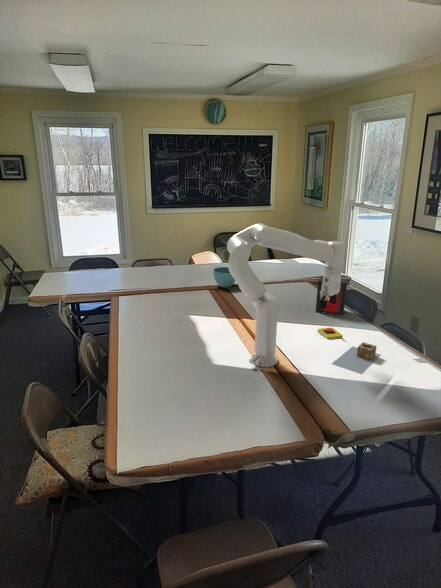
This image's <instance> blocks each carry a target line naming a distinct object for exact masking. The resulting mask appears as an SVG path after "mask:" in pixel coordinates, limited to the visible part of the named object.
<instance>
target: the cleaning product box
mask: <svg viewBox="0 0 441 588" xmlns="http://www.w3.org/2000/svg"><path fill="white" fill-rule="evenodd" d="M323 277H324V276H319V278H318V279H317V292H316V293H317V294H316V302H315V312H316V311H317V312H316V313H320V312H325V313H324V314H328V313H333V314H332V315H336V314H340V315H339V316H344V313H345V304H346V297H347V290H348V288H347V287H348V279H346V278H345V279H344V278H341V283H340V291H339V293H338V295H337V300H336V304H332V303H329V299H330V296H328V298H327V307H326V309H323V308H320V307H319V305H320V291H321V288H322V282H323ZM324 296H325V297H326V295H324Z"/></svg>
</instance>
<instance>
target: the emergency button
mask: <svg viewBox="0 0 441 588" xmlns="http://www.w3.org/2000/svg"><path fill="white" fill-rule="evenodd" d="M317 332H318V333H319V334H320V335H321V336H323V337H324V339H326V340H336V339H343V337H344V336H343V334H341V333H340V331H338V330H336V329H335V328H334V327H322V328H318V329H317ZM343 340H344V339H343Z"/></svg>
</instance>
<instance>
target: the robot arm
mask: <svg viewBox="0 0 441 588" xmlns="http://www.w3.org/2000/svg"><path fill="white" fill-rule="evenodd" d="M256 245H259V246H261V247H265V248H267V249H273V250H277V251H282V252H285V253H289V254H293V255H295V256H296V255H297V256H299V257H303V258H307V259H311V260H314V261H318V262H319V261H320V262H324V267H323V272H324V274H323V276H322V277H323V282H322V288H321V291H320V305H319V307H320V308H323V309H326V307H327V298H328V296H330V299H329V303H332V304H336V300H337V295H338V293H339V291H340V283H341V279H342V270H343V266H344V265H343V263H344V257H345V253H346V243H345V242H343V241H339V240H338V241H337V240H330V241H329V240H322V239H314V240H312V239H309V238H306V237H304V236H302V235H299V234H298V233H296V232H295V233H294V232H293V231H288V230H285V229H280V228H275V227H272V226H268V225H266V224H265V223H255V224H253V225H251V226H249V227H247V228H245V229H244V230H242V231H240V232H238V233H236V234H234V235H233V236H231V237H230V238H229V239H228V241H227V243H226V249H227V251H228V253H229V257H228V261H227V263H228V264H227V267H228V268H229V271H230V273H231V275H232V276H233V278H234V279H235V282H236V284H237V285H238V288H239V289H240V291H242V293H243V295H244V296H245V297H246V298H247V300H248V301H249V302H250V304H251V305H252V306H253V308H255V310H256V312H257V313H256V320H255V326H254V327H255V332H254V335H255V337H254V353H253V354H252V355H251V357H250V359H249V360H248V363H250V364H253V365H256V366H258V367H261V368H262V367H263V368H269V367H273V366H276V365H277V364H278V363H279V358H278V356H277V355H276V350H277V349H276V348H277V331H278V330H277V329H278V321H279V315H280V305H279V302H278V301H277V300H276V298H275V297H274V296H273V295H272V294H271V292H269V290H267V288H266V287H265V285H264V283H263V281H262V280H261V279H260V277H258V275H257V274H256V273H255V272H254V270H253V269H252V267H251V266H250V264H249V259H250V255H251V252H252V249H251V248H252V247H254V246H256ZM324 295H326V297H325V296H324ZM276 359H277V360H276ZM277 362H278V363H277ZM276 363H277V364H276ZM275 364H276V365H275Z"/></svg>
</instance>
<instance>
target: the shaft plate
mask: <svg viewBox="0 0 441 588" xmlns="http://www.w3.org/2000/svg"><path fill="white" fill-rule="evenodd" d="M357 350H358V346H351V347H350V348H349V349H347V350H346V351H345V352H344V353H343V354H342V355H340V356H339V357H338V358H336V359H335V360H334V361H333V362H332V363H331V365H333V366H337V367H339V368H342V369H345V370H349V371H351V372H354V373H357V374H359V375H362V374H364V373H365V372H366V371H367V370H368V369H369V367H371V366H372V365H373V364H374V363H375V362H376V360H378V359H379V358H380V357H381V356H382V354H379V353H377V352H376V354H375V356H374V357H373V358H372V359H371V360H367V359H364V358H360V357H357Z"/></svg>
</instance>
